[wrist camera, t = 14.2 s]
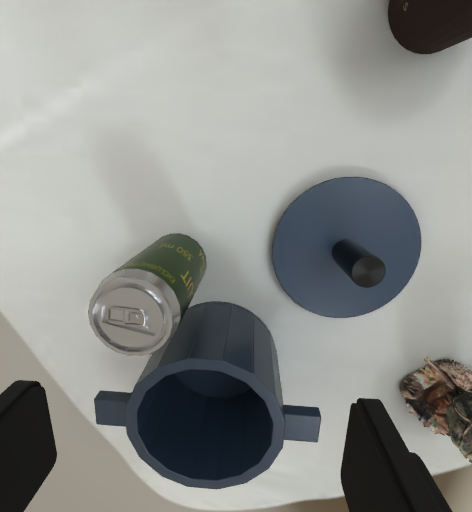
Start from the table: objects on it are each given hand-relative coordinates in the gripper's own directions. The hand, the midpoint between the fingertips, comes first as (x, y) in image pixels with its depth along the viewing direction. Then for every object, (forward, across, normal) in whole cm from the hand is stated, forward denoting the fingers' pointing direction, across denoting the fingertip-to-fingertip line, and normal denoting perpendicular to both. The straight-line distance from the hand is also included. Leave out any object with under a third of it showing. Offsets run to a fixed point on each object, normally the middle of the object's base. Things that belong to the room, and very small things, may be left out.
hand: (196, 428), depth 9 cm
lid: (+19, -10, -1) cm, 22 cm away
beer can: (+20, +5, +1) cm, 21 cm away
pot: (+20, +1, +11) cm, 23 cm away
